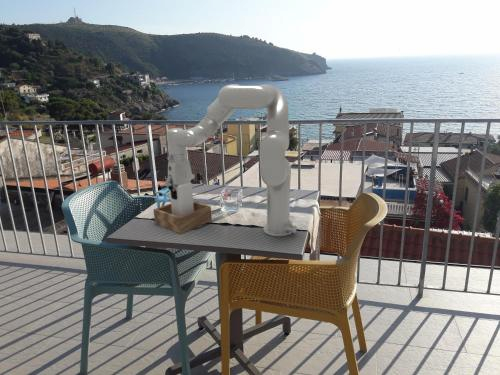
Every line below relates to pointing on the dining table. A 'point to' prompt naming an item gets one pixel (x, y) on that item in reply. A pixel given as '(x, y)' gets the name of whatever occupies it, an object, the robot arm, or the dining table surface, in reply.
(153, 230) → the dining table surface
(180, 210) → the milk carton
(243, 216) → the dining table surface
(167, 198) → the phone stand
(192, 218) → the wooden crate
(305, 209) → the dining table surface
